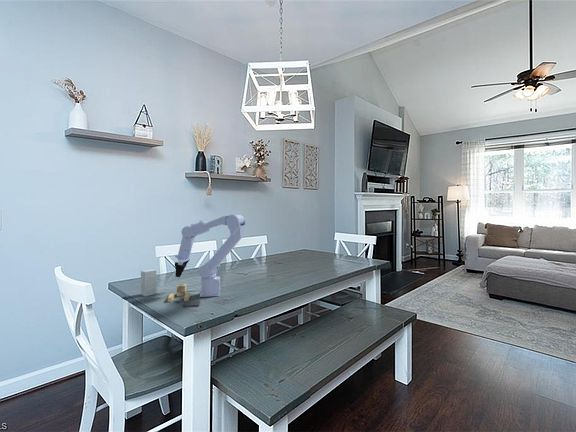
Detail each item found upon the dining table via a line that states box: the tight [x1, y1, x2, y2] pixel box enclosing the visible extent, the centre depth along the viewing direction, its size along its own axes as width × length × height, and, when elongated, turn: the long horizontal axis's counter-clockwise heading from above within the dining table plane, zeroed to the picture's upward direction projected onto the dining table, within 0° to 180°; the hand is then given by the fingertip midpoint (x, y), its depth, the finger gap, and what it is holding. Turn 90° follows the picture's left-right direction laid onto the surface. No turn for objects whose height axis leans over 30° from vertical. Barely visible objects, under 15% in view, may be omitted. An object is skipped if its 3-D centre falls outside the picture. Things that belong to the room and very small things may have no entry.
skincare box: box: [140, 268, 158, 297], centre depth 145 cm, size 6×4×12 cm
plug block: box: [176, 283, 187, 297], centre depth 145 cm, size 4×4×5 cm
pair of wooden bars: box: [167, 292, 191, 303], centre depth 138 cm, size 9×6×2 cm
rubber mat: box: [183, 299, 201, 308], centre depth 132 cm, size 6×6×1 cm
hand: (179, 274), depth 149 cm, fingers open, 7 cm apart
